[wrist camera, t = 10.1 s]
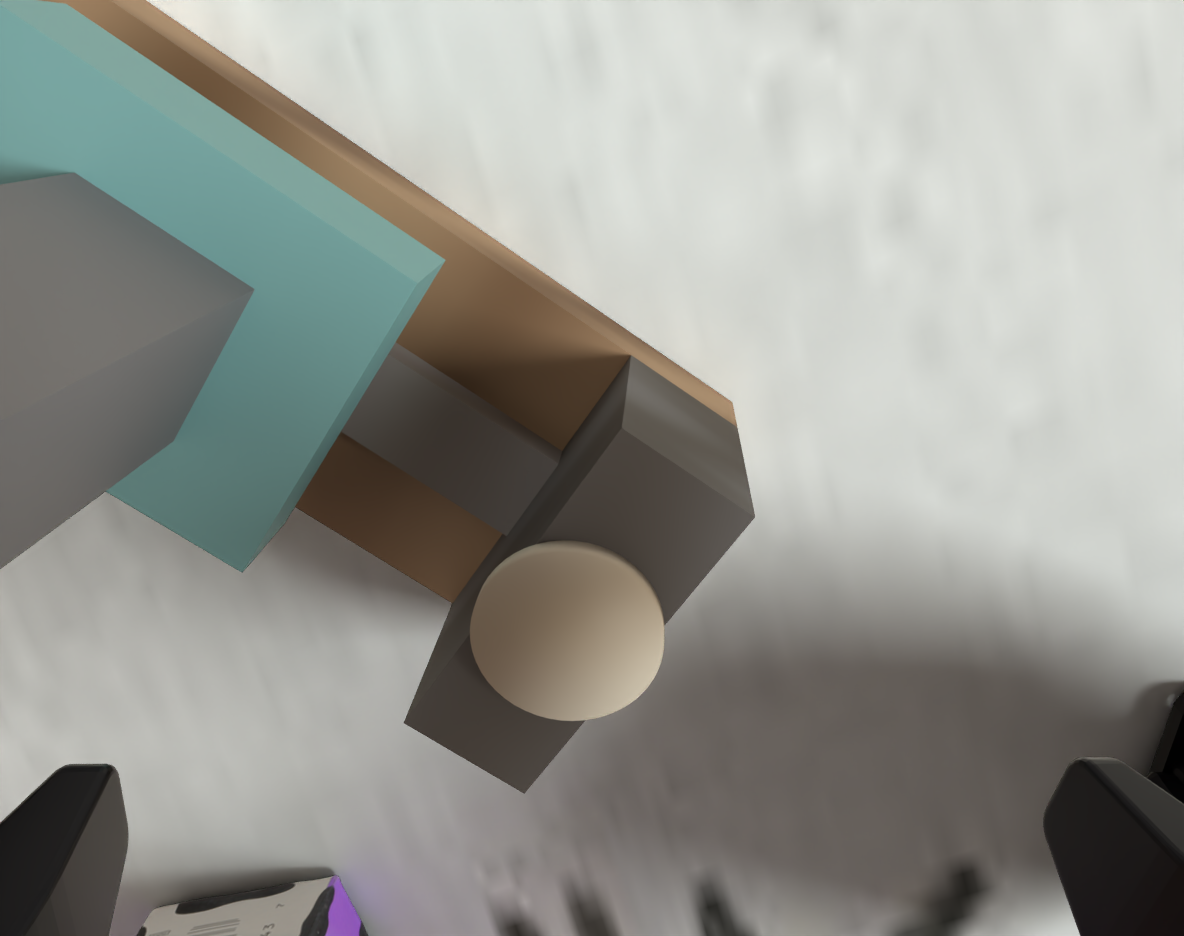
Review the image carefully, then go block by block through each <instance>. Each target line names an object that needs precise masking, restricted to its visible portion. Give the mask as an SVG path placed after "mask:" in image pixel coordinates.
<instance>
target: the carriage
mask: <svg viewBox="0 0 1184 936" xmlns="http://www.w3.org/2000/svg"><path fill="white" fill-rule="evenodd" d="M444 262H445V259H444V258H442V257H441V256H439V255H438V254H436V253H435V252H433V251H432V250H430V249H429V248H427V247H426V246H424V245H423V244H421V243H420V242H418V241H417V240H415V239H414V238H412V237H411V236H409V235H408V234H407V233H405V232H404V231H402V230H401V229H399V228H398V227H396V226H395V225H393V224H392V223H390V222H389V221H387V220H386V219H384V218H383V217H381V216H380V215H378V214H377V213H375V212H374V211H372V210H371V209H369V208H368V207H367V206H365V205H364V204H362V203H361V202H359V201H358V200H356V199H355V198H353V197H352V196H350V195H349V194H347V193H346V192H344V191H343V190H341V189H340V188H338V187H337V186H335V185H334V184H332V183H331V182H329V181H328V180H327V179H325V178H324V177H322V176H321V175H319V174H318V173H316V172H315V171H313V170H312V169H310V168H309V167H307V166H306V165H304V164H303V163H301V162H300V161H298V160H297V159H295V158H294V157H292V156H291V155H290V154H288V153H287V152H285V151H284V150H282V149H281V148H279V147H278V146H276V145H275V144H273V143H272V142H270V141H269V140H267V139H266V138H264V137H263V136H261V135H260V134H258V133H257V132H255V131H254V130H252V129H251V128H250V127H248V126H247V125H245V124H244V123H242V122H241V121H239V120H238V119H236V118H235V117H233V116H232V115H230V114H229V113H227V112H226V111H224V110H223V109H221V108H220V107H218V106H217V105H215V104H214V103H212V102H211V101H210V100H208V99H207V98H205V97H204V96H202V95H201V94H199V93H198V92H196V91H195V90H193V89H192V88H190V87H189V86H187V85H186V84H184V83H183V82H181V81H180V80H178V79H177V78H175V77H174V76H173V75H171V74H170V73H168V72H167V71H165V70H164V69H162V68H161V67H159V66H158V65H156V64H155V63H153V62H152V61H150V60H149V59H147V58H146V57H144V56H143V55H141V54H140V53H138V52H137V51H135V50H134V49H133V48H131V47H130V46H128V45H127V44H125V43H124V42H122V41H121V40H119V39H118V38H116V37H115V36H113V35H112V34H110V33H109V32H107V31H106V30H104V29H103V28H101V27H100V26H98V25H97V24H96V23H94V22H93V21H91V20H90V19H88V18H87V17H85V16H84V15H82V14H81V13H79V12H78V11H76V10H75V9H73V8H72V7H70V6H69V5H67V4H64V3H56V2H48V1H39V0H0V569H1V568H2V567H4V566H5V565H7V564H8V563H9V562H11V561H12V560H13V559H15V558H16V557H17V556H19V555H20V554H21V553H23V552H24V551H25V550H27V549H28V548H30V547H31V546H32V545H34V544H35V543H36V542H38V541H39V540H40V539H42V538H43V537H44V536H46V535H47V534H48V533H50V532H51V531H53V530H54V529H55V528H57V527H58V526H59V525H61V524H62V523H63V522H65V521H66V520H67V519H69V518H70V517H72V516H73V515H74V514H76V513H77V512H78V511H80V510H81V509H82V508H84V507H85V506H86V505H88V504H89V503H90V502H92V501H93V500H95V499H96V498H97V497H99V496H100V495H101V494H103V493H104V492H105V491H106V492H107V493H109V494H111V495H113V496H114V497H116V498H118V499H119V500H121V501H123V502H124V503H126V504H128V505H129V506H131V507H133V508H134V509H136V510H138V511H139V512H141V513H143V514H144V515H146V516H148V517H149V518H151V519H153V520H155V521H156V522H158V523H160V524H161V525H163V526H165V527H166V528H168V529H170V530H171V531H173V532H175V533H176V534H178V535H180V536H181V537H183V538H185V539H186V540H188V541H190V542H191V543H193V544H195V545H197V546H198V547H200V548H202V549H203V550H205V551H207V552H208V553H210V554H212V555H213V556H215V557H217V558H218V559H220V560H222V561H223V562H225V563H227V564H228V565H230V566H232V567H233V568H235V569H237V570H239V571H240V572H242V573H243V571H244V570H245V569H246V568H247V567H248V566H249V564H250V563H251V562H252V561H253V560H254V559H255V557H256V556H257V555H258V554H259V553H260V552H261V550H262V549H263V548H264V547H265V546H266V545H267V543H268V542H269V541H270V540H271V539H272V538H273V536H274V535H275V534H276V533H277V532H278V531H279V529H280V528H281V527H282V526H283V525H284V524H285V522H286V520H287V519H288V517H289V516H290V514H291V512H292V511H293V509H294V507H295V506H296V504H297V502H298V501H299V499H300V498H301V496H302V494H303V493H304V491H305V489H306V488H307V486H308V484H309V483H310V481H311V480H312V478H313V476H314V475H315V473H316V471H317V470H318V468H319V466H320V465H321V463H322V462H323V460H324V458H325V457H326V455H327V453H328V452H329V450H330V448H331V447H332V445H333V444H334V442H335V440H336V439H337V437H338V435H339V434H340V432H341V430H342V429H343V427H344V426H345V424H346V422H347V421H348V419H349V417H350V416H351V414H352V412H353V411H354V409H355V408H356V406H357V404H358V403H359V401H360V399H361V398H362V396H363V394H364V393H365V391H366V390H367V388H368V386H369V385H370V383H371V381H372V380H373V378H374V376H375V375H376V373H377V372H378V370H379V368H380V367H381V365H382V363H383V362H384V360H385V358H386V357H387V355H388V354H389V352H390V350H391V349H392V347H393V345H394V344H395V342H396V340H397V339H398V337H399V336H400V334H401V332H402V331H403V329H404V327H405V326H406V324H407V322H408V321H409V319H410V318H411V316H412V314H413V313H414V311H415V309H416V308H417V306H418V304H419V303H420V301H421V300H422V298H423V296H424V295H425V293H426V291H427V290H428V288H429V286H430V285H431V283H432V282H433V280H434V278H435V277H436V275H437V273H438V272H439V270H440V269H441V267H442V265H443V264H444Z"/></svg>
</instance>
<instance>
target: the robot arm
mask: <svg viewBox="0 0 1184 936" xmlns="http://www.w3.org/2000/svg"><path fill="white" fill-rule="evenodd" d="M1043 827H1044V833H1045V837H1046V840H1047V843H1048V846H1049V849H1050V852H1051V854H1052V857H1053V860H1054V863H1055V866H1056V869H1057V871H1058V874H1059V877H1060V880H1061V883H1062V885H1063V888H1064V891H1065V894H1066V897H1067V899H1068V902H1069V905H1070V908H1071V911H1072V913H1073V916H1074V919H1075V922H1076V925H1077V927H1078V930H1079V933H1080V936H1184V693H1182V694H1181V695H1180V696H1179V697H1178V698H1177V699H1176V701H1175V703H1174V704H1173V707H1172V710H1171V713H1170V716H1169V719H1168V721H1167V724H1166V727H1165V730H1164V733H1163V736H1162V738H1161V741H1160V744H1159V747H1158V750H1157V753H1156V755H1155V758H1154V761H1153V764H1152V767H1151V770H1150V773H1149V774H1148V776H1147V777H1144V776H1143V775H1141V774H1140V773H1139V772H1137V771H1136V770H1134V769H1133V768H1131V767H1130V766H1128V765H1127V764H1125V763H1124V762H1122V761H1120V760H1118V759H1115V758H1111V757H1081V758H1077V759H1075V760H1074V761H1072V762H1071V763H1070V764H1069V766H1068V767H1067V769H1066V771H1065V773H1064V775H1063V777H1062V778H1061V780H1060V782H1059V784H1058V786H1057V788H1056V790H1055V792H1054V794H1053V796H1052V798H1051V800H1050V802H1049V803H1048V805H1047V807H1046V810H1045V812H1044V818H1043ZM127 848H128V823H127V818H126V812H125V806H124V801H123V795H122V789H121V784H120V778H119V774H118V772H117V770H116V768H115V767H114V766H112V765H108V764H69V765H65V766H63V767H61V768H59V769H58V770H56V771H55V772H54V773H53V774H52V775H51V776H50V777H49V778H47V779H46V780H45V781H44V782H43V783H42V784H41V785H40V786H39V787H38V788H37V789H36V790H35V791H34V792H33V793H31V794H30V795H29V796H28V797H27V798H26V799H25V800H24V801H23V802H22V803H21V804H20V805H19V806H18V807H17V808H15V809H14V810H13V811H12V812H11V813H10V814H9V815H8V816H7V817H6V818H5V819H4V820H3V821H2V822H1V823H0V936H108V935H109V931H110V926H111V922H112V917H113V913H114V908H115V904H116V899H117V895H118V891H119V886H120V882H121V877H122V873H123V868H124V864H125V859H126V854H127Z"/></svg>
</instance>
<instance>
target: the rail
mask: <svg viewBox="0 0 1184 936" xmlns="http://www.w3.org/2000/svg"><path fill="white" fill-rule="evenodd" d="M39 1H48V2H56V3H64V4H67V5H69V6H70V7H72V8H73V9H75V10H76V11H78V12H79V13H81V14H82V15H84V16H85V17H87V18H88V19H90V20H91V21H93V22H94V23H96V24H97V25H98V26H100V27H101V28H103V29H104V30H106V31H107V32H109V33H110V34H112V35H113V36H115V37H116V38H118V39H119V40H121V41H122V42H124V43H125V44H127V45H128V46H130V47H131V48H133V49H134V50H135V51H137V52H138V53H140V54H141V55H143V56H144V57H146V58H147V59H149V60H150V61H152V62H153V63H155V64H156V65H158V66H159V67H161V68H162V69H164V70H165V71H167V72H168V73H170V74H171V75H173V76H174V77H175V78H177V79H178V80H180V81H181V82H183V83H184V84H186V85H187V86H189V87H190V88H192V89H193V90H195V91H196V92H198V93H199V94H201V95H202V96H204V97H205V98H207V99H208V100H210V101H211V102H212V103H214V104H215V105H217V106H218V107H220V108H221V109H223V110H224V111H226V112H227V113H229V114H230V115H232V116H233V117H235V118H236V119H238V120H239V121H241V122H242V123H244V124H245V125H247V126H248V127H250V128H251V129H252V130H254V131H255V132H257V133H258V134H260V135H261V136H263V137H264V138H266V139H267V140H269V141H270V142H272V143H273V144H275V145H276V146H278V147H279V148H281V149H282V150H284V151H285V152H287V153H288V154H290V155H291V156H292V157H294V158H295V159H297V160H298V161H300V162H301V163H303V164H304V165H306V166H307V167H309V168H310V169H312V170H313V171H315V172H316V173H318V174H319V175H321V176H322V177H324V178H325V179H327V180H328V181H329V182H331V183H332V184H334V185H335V186H337V187H338V188H340V189H341V190H343V191H344V192H346V193H347V194H349V195H350V196H352V197H353V198H355V199H356V200H358V201H359V202H361V203H362V204H364V205H365V206H367V207H368V208H369V209H371V210H372V211H374V212H375V213H377V214H378V215H380V216H381V217H383V218H384V219H386V220H387V221H389V222H390V223H392V224H393V225H395V226H396V227H398V228H399V229H401V230H402V231H404V232H405V233H407V234H408V235H409V236H411V237H412V238H414V239H415V240H417V241H418V242H420V243H421V244H423V245H424V246H426V247H427V248H429V249H430V250H432V251H433V252H435V253H436V254H438V255H439V256H441V257H442V258H444V259H445V262H444V264H443V265H442V267H441V269H440V270H439V272H438V273H437V275H436V277H435V278H434V280H433V282H432V283H431V285H430V286H429V288H428V290H427V291H426V293H425V295H424V296H423V298H422V300H421V301H420V303H419V304H418V306H417V308H416V309H415V311H414V313H413V314H412V316H411V318H410V319H409V321H408V322H407V324H406V326H405V327H404V329H403V331H402V332H401V334H400V336H399V337H398V339H397V340H396V342H395V344H394V345H393V347H392V349H391V350H390V352H389V354H388V355H387V357H386V358H385V360H384V362H383V363H382V365H381V367H380V368H379V370H378V372H377V373H376V375H375V376H374V378H373V380H372V381H371V383H370V385H369V386H368V388H367V390H366V391H365V393H364V394H363V396H362V398H361V399H360V401H359V403H358V404H357V406H356V408H355V409H354V411H353V412H352V414H351V416H350V417H349V419H348V421H347V422H346V424H345V426H344V427H343V429H342V430H341V432H340V434H339V435H338V437H337V439H336V440H335V442H334V444H333V445H332V447H331V448H330V450H329V452H328V453H327V455H326V457H325V458H324V460H323V462H322V463H321V465H320V466H319V468H318V470H317V471H316V473H315V475H314V476H313V478H312V480H311V481H310V483H309V484H308V486H307V488H306V489H305V491H304V493H303V494H302V496H301V498H300V499H299V501H298V502H297V504H296V506H295V507H296V508H298V509H299V510H301V511H303V512H304V513H306V514H308V515H309V516H311V517H312V518H314V519H316V520H317V521H319V522H321V523H322V524H324V525H325V526H327V527H329V528H330V529H332V530H334V531H335V532H337V533H339V534H340V535H342V536H343V537H345V538H347V539H348V540H350V541H352V542H353V543H355V544H356V545H358V546H360V547H361V548H363V549H365V550H366V551H368V552H370V553H371V554H373V555H374V556H376V557H378V558H379V559H381V560H383V561H384V562H386V563H387V564H389V565H391V566H392V567H394V568H396V569H397V570H399V571H401V572H402V573H404V574H405V575H407V576H409V577H410V578H412V579H414V580H415V581H417V582H418V583H420V584H422V585H423V586H425V587H427V588H428V589H430V590H432V591H433V592H435V593H436V594H438V595H440V596H441V597H443V598H445V599H446V600H448V601H450V602H451V603H452V606H451V608H450V611H449V613H448V616H447V618H446V621H445V623H444V626H443V628H442V630H441V633H440V635H439V638H438V640H437V643H436V645H435V648H434V650H433V652H432V655H431V657H430V660H429V662H428V665H427V667H426V670H425V672H424V675H423V677H422V679H421V682H420V684H419V687H418V689H417V692H416V694H415V697H414V699H413V702H412V704H411V706H410V709H409V711H408V714H407V716H406V719H405V721H404V723H405V724H406V725H408V726H410V727H411V728H413V729H415V730H417V731H418V732H420V733H422V734H423V735H425V736H427V737H429V738H430V739H432V740H434V741H435V742H437V743H439V744H440V745H442V746H444V747H446V748H447V749H449V750H451V751H452V752H454V753H456V754H458V755H459V756H461V757H463V758H464V759H466V760H468V761H470V762H471V763H473V764H475V765H476V766H478V767H480V768H481V769H483V770H485V771H487V772H488V773H490V774H492V775H493V776H495V777H497V778H499V779H500V780H502V781H504V782H505V783H507V784H509V785H511V786H512V787H514V788H516V789H517V790H519V791H521V792H522V793H525V792H526V791H527V790H528V788H529V787H530V786H531V785H532V784H533V782H534V781H535V780H536V779H537V778H538V776H539V775H540V774H541V773H542V772H543V770H544V769H545V768H546V767H547V766H548V764H549V763H550V762H551V761H552V760H553V758H554V757H555V756H556V755H557V754H558V752H559V751H560V750H561V749H562V748H563V746H564V745H565V744H566V743H567V742H568V740H569V739H570V738H571V737H572V736H573V734H574V733H575V732H576V731H577V730H578V728H579V727H580V726H581V725H582V724H583V722H584V721H585V720H590V719H595V718H599V717H603V716H606V715H609V714H612V713H614V712H616V711H619V710H620V709H622V708H624V707H626V706H627V705H629V704H630V703H632V702H633V701H634V700H636V699H637V698H638V697H639V696H640V695H641V694H642V693H643V692H644V691H645V690H646V689H647V688H648V686H649V685H650V684H651V682H652V681H653V679H654V677H655V675H656V674H657V672H658V670H659V667H660V664H661V661H662V657H663V651H664V625H665V624H666V623H667V622H668V621H669V619H670V618H671V617H672V616H673V615H674V613H675V612H676V611H677V610H678V609H679V607H680V606H681V605H682V604H683V603H684V601H685V600H686V599H687V598H688V597H689V596H690V594H691V593H692V592H693V591H694V590H695V588H696V587H697V586H698V585H699V584H700V582H701V581H702V580H703V579H704V578H705V576H706V575H707V574H708V573H709V572H710V570H711V569H712V568H713V567H714V566H715V564H716V563H717V562H718V561H719V560H720V558H721V557H722V556H723V555H724V554H725V552H726V551H727V550H728V549H729V548H730V546H731V545H732V544H733V543H734V542H735V540H736V539H737V538H738V537H739V536H740V534H741V533H742V532H743V531H744V530H745V528H746V527H747V526H748V525H749V524H750V522H751V521H752V520H753V519H754V518H755V514H754V509H753V504H752V499H751V494H750V489H749V484H748V479H747V474H746V469H745V464H744V459H743V454H742V449H741V444H740V439H739V434H738V429H737V424H736V419H735V414H734V409H733V404H732V402H731V401H730V400H728V399H727V398H725V397H724V396H722V395H721V394H719V393H718V392H717V391H715V390H714V389H712V388H711V387H709V386H708V385H706V384H705V383H703V382H702V381H701V380H699V379H698V378H696V377H695V376H693V375H692V374H690V373H689V372H687V371H686V370H684V369H683V368H682V367H680V366H679V365H677V364H676V363H674V362H673V361H671V360H670V359H668V358H667V357H665V356H664V355H663V354H661V353H660V352H658V351H657V350H655V349H654V348H652V347H651V346H649V345H648V344H647V343H645V342H644V341H642V340H641V339H639V338H638V337H636V336H635V335H633V334H632V333H630V332H629V331H628V330H626V329H625V328H623V327H622V326H620V325H619V324H617V323H616V322H614V321H613V320H612V319H610V318H609V317H607V316H606V315H604V314H603V313H601V312H600V311H598V310H597V309H595V308H594V307H593V306H591V305H590V304H588V303H587V302H585V301H584V300H582V299H581V298H579V297H578V296H576V295H575V294H574V293H572V292H571V291H569V290H568V289H566V288H565V287H563V286H562V285H560V284H559V283H558V282H556V281H555V280H553V279H552V278H550V277H549V276H547V275H546V274H544V273H543V272H541V271H540V270H539V269H537V268H536V267H534V266H533V265H531V264H530V263H528V262H527V261H525V260H524V259H522V258H521V257H520V256H518V255H517V254H515V253H514V252H512V251H511V250H509V249H508V248H506V247H505V246H504V245H502V244H501V243H499V242H498V241H496V240H495V239H493V238H492V237H490V236H489V235H487V234H486V233H485V232H483V231H482V230H480V229H479V228H477V227H476V226H474V225H473V224H471V223H470V222H468V221H467V220H466V219H464V218H463V217H461V216H460V215H458V214H457V213H455V212H454V211H452V210H451V209H450V208H448V207H447V206H445V205H444V204H442V203H441V202H439V201H438V200H436V199H435V198H433V197H432V196H431V195H429V194H428V193H426V192H425V191H423V190H422V189H420V188H419V187H417V186H416V185H414V184H413V183H412V182H410V181H409V180H407V179H406V178H404V177H403V176H401V175H400V174H398V173H397V172H396V171H394V170H393V169H391V168H390V167H388V166H387V165H385V164H384V163H382V162H381V161H379V160H378V159H377V158H375V157H374V156H372V155H371V154H369V153H368V152H366V151H365V150H363V149H362V148H360V147H359V146H358V145H356V144H355V143H353V142H352V141H350V140H349V139H347V138H346V137H344V136H343V135H342V134H340V133H339V132H337V131H336V130H334V129H333V128H331V127H330V126H328V125H327V124H325V123H324V122H323V121H321V120H320V119H318V118H317V117H315V116H314V115H312V114H311V113H309V112H308V111H306V110H305V109H304V108H302V107H301V106H299V105H298V104H296V103H295V102H293V101H292V100H290V99H289V98H288V97H286V96H285V95H283V94H282V93H280V92H279V91H277V90H276V89H274V88H273V87H271V86H270V85H269V84H267V83H266V82H264V81H263V80H261V79H260V78H258V77H257V76H255V75H254V74H252V73H251V72H250V71H248V70H247V69H245V68H244V67H242V66H241V65H239V64H238V63H236V62H235V61H234V60H232V59H231V58H229V57H228V56H226V55H225V54H223V53H222V52H220V51H219V50H217V49H216V48H215V47H213V46H212V45H210V44H209V43H207V42H206V41H204V40H203V39H201V38H200V37H198V36H197V35H196V34H194V33H193V32H191V31H190V30H188V29H187V28H185V27H184V26H182V25H181V24H180V23H178V22H177V21H175V20H174V19H172V18H171V17H169V16H168V15H166V14H165V13H163V12H162V11H161V10H159V9H158V8H156V7H155V6H153V5H152V4H150V3H149V2H147V1H146V0H39Z"/></svg>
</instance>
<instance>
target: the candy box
mask: <svg viewBox="0 0 1184 936" xmlns="http://www.w3.org/2000/svg"><path fill="white" fill-rule="evenodd" d="M137 936H368V934H367V932H366V930H365V928H364V925H363V923H362V921H361V920H360V918H359V916H358V914H357V912H356V910H355V908H354V906H353V905H352V903H351V901H350V899H349V897H348V895H347V893H346V891H345V890H344V888H343V886H342V884H341V881H340V879H339V877H338V876H337V875H334V876H331V877H328V878H322V879H317V880H311V881H301V882H294V883H289V884H284V885H279V886H275V887H270V888H265V889H261V890H255V891H250V892H244V893H237V894H232V895H226V896H218V897H210V898H204V899H197V900H192V901H187V902H182V903H178V904H173V905H168V906H162V907H159V908H155V909H154V910H153V911H152V912H151V913H150V914H149V916H148V917H147V919H146V921H145V922H144V924H143V926H142V927H141V929H140V931H139V932H138V934H137Z"/></svg>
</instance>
